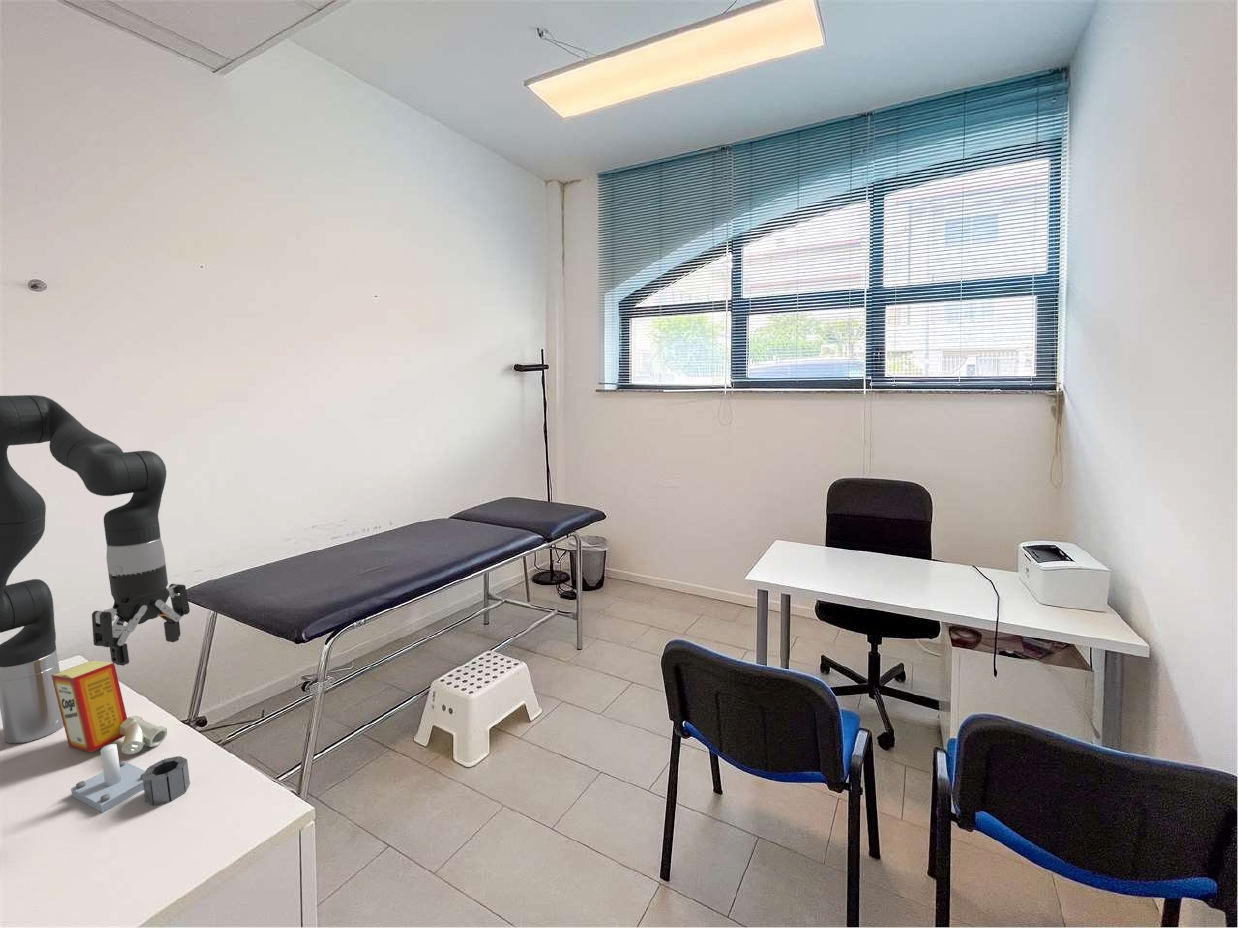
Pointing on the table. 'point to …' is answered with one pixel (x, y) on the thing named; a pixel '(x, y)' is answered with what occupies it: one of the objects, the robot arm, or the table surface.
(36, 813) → the table surface
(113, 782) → the mounting base with peg
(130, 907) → the table surface
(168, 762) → the hub
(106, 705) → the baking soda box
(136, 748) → the pipe fitting
